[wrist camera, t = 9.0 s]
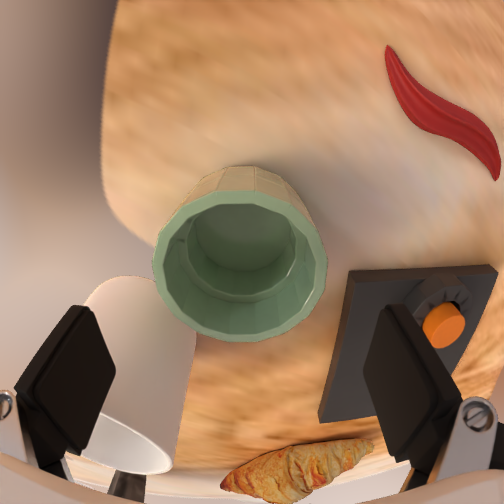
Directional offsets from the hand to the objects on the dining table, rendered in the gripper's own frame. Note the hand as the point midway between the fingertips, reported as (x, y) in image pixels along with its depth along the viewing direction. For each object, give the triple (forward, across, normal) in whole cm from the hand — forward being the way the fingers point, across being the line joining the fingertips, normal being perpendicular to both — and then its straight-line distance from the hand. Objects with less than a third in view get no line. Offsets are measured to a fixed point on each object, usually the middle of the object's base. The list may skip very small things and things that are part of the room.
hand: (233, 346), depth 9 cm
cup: (+9, +9, +7) cm, 15 cm away
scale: (+9, -13, +10) cm, 19 cm away
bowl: (+9, 0, -1) cm, 9 cm away
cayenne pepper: (+9, -13, -8) cm, 17 cm away
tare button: (+6, -13, +5) cm, 15 cm away
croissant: (+10, -5, +30) cm, 32 cm away
